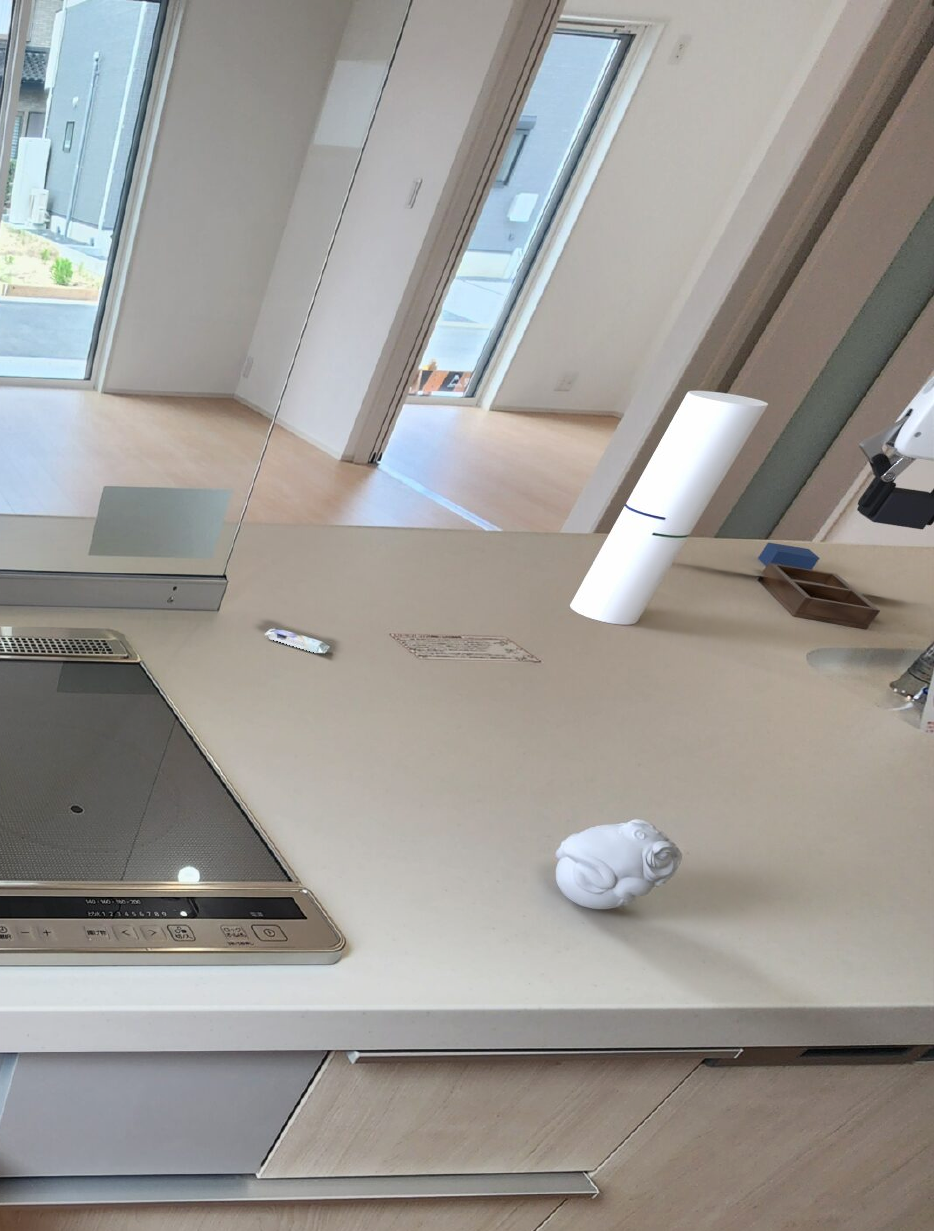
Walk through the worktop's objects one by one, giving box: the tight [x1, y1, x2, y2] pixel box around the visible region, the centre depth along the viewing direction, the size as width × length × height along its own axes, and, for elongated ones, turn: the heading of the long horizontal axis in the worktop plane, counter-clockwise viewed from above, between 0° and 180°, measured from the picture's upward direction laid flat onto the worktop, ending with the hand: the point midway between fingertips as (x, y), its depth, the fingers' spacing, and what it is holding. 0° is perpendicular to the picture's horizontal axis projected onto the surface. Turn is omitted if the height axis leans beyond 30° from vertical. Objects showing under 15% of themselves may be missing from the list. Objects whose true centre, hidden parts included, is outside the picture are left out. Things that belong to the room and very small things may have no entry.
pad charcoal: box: [859, 486, 934, 530], centre depth 114 cm, size 5×4×3 cm
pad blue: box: [757, 542, 820, 570], centre depth 134 cm, size 5×4×3 cm
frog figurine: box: [555, 818, 683, 910], centre depth 69 cm, size 6×7×7 cm
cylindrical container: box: [569, 390, 769, 626], centre depth 111 cm, size 7×7×25 cm
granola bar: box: [263, 627, 330, 654], centre depth 106 cm, size 7×2×1 cm, turn 50°
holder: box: [757, 563, 881, 630], centre depth 125 cm, size 8×14×2 cm, turn 155°
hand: (893, 516), depth 115 cm, fingers closed on pad charcoal, 4 cm apart
